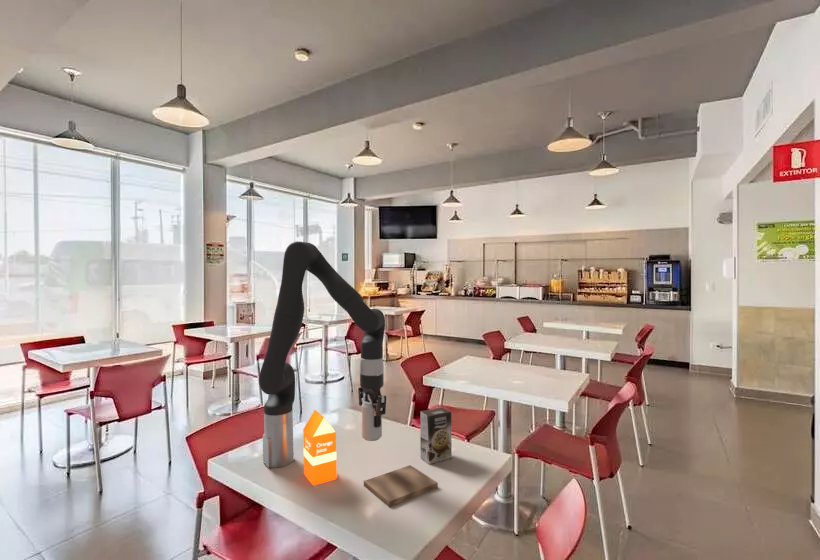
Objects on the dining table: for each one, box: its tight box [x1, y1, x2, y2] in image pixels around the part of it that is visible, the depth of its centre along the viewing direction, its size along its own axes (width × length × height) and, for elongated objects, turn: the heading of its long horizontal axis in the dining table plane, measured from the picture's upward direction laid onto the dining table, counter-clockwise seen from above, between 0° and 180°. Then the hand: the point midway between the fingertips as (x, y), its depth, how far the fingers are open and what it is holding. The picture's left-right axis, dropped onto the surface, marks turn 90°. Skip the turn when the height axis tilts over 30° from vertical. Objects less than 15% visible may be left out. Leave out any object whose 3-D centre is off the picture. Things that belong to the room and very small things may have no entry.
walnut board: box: [363, 464, 439, 508], centre depth 123 cm, size 17×14×2 cm
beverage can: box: [361, 401, 383, 442], centre depth 133 cm, size 6×6×12 cm
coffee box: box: [419, 407, 453, 465], centre depth 142 cm, size 9×6×16 cm
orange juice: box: [302, 409, 338, 486], centre depth 130 cm, size 8×9×20 cm
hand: (371, 423), depth 133 cm, fingers closed on beverage can, 6 cm apart
